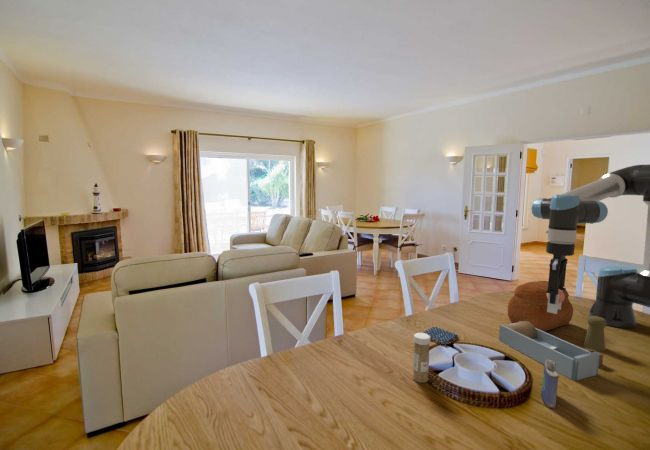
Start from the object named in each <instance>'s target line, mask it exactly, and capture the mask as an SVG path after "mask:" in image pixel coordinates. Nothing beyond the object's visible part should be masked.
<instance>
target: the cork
mask: <svg viewBox="0 0 650 450" xmlns="http://www.w3.org/2000/svg"><path fill="white" fill-rule="evenodd" d="M587 324H588V328H587V331H586V335H585V338H584V341H583V346H584V347H585V348H587V349H588V350H591V349H592V350H595V351H597V352H605V351H606V338H605V328H606V327H607V326H608V325H607V323H606V320H605V319H604V318H601V317H598V316H590V317H589V316H588V317H587Z"/></svg>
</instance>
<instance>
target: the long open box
mask: <svg viewBox="0 0 650 450" xmlns="http://www.w3.org/2000/svg"><path fill="white" fill-rule="evenodd" d="M498 341H499V342H501V343H503V344H505V345H506V346H508V347H511V348H512V349H514V350H515V351H517V352H520V353H521V354H523V355H525V356H527V357H529V358H531V359H532V360H534V361H537V363H540V364H542V365H544V364H545V361H546V360H547V359H548V360H552V361H554V362H555V363H556V365H555V370H556V372H557V373H558V374H561V375H563V376H564V377H567V378H568V379H570V380H572V381H574V382H576V381H580V380H583V379H586V378H591V377H594V376H598V374H599V366H600V365H599V358H600V353H601V352H600V351H596V352H589V351H587V349H585V348H583V347H580V346H578V345H576V344H573V343H571V342H570V341H567V340H564V339H562V338H559V337H558V336H555V335H553V334H550V333H548V332H547V331H541V330H539V329H537V328H535V327H534V326H533V324H531V323H530V322H528V321H523V322H521V321H519V322H517V323H514V322H512V323H506V324H505V325H503V324H500V325H499V332H498Z"/></svg>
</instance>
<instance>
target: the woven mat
mask: <svg viewBox="0 0 650 450" xmlns="http://www.w3.org/2000/svg"><path fill="white" fill-rule="evenodd" d="M423 333H425V334H428V335H429V336H430V342H432V343H436V344H438V345H441V344H446V343H449V342H452V343H453V342H455V341H457V340H458V339H459V338H460V337H459V334H457V333H455V332H451V331H448V330H445V329H443V328H440V327H437V326H432V327H430V328H428V329H427V330H425V331H423ZM440 343H441V344H440Z"/></svg>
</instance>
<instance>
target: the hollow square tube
mask: <svg viewBox="0 0 650 450" xmlns="http://www.w3.org/2000/svg"><path fill="white" fill-rule="evenodd" d="M586 350H587V349H586ZM587 351H589V352H596V351H595V350H592V349H588V350H587ZM599 353H600V358H599V366H602V365H603V363H604V362H603V361H604V353H602V352H599Z"/></svg>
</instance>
